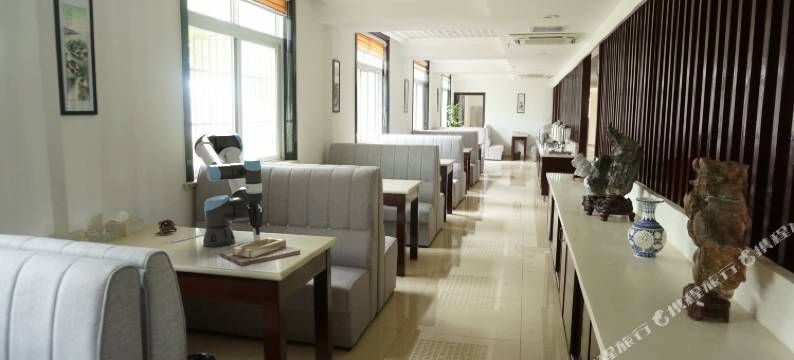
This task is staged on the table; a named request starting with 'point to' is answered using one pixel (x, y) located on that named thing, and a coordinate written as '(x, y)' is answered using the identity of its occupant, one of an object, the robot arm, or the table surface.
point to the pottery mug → (166, 226)
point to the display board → (260, 256)
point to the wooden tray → (258, 247)
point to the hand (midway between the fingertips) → (257, 241)
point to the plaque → (187, 238)
